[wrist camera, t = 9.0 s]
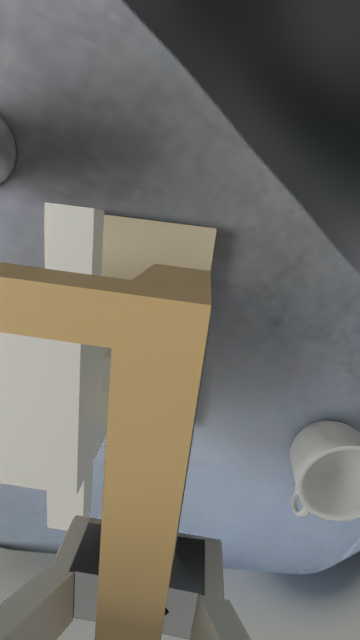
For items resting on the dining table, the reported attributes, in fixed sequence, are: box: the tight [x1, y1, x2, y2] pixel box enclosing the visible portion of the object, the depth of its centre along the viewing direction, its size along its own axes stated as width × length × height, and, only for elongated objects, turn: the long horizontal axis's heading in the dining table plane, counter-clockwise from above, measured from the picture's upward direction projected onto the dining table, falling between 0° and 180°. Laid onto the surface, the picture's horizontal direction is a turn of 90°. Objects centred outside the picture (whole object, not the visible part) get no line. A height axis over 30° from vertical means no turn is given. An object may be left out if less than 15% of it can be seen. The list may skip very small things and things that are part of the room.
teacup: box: [290, 421, 360, 521], centre depth 29 cm, size 10×8×5 cm
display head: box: [0, 202, 217, 531], centre depth 23 cm, size 14×20×14 cm
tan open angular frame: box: [0, 263, 211, 640], centre depth 10 cm, size 10×17×4 cm, turn 173°
